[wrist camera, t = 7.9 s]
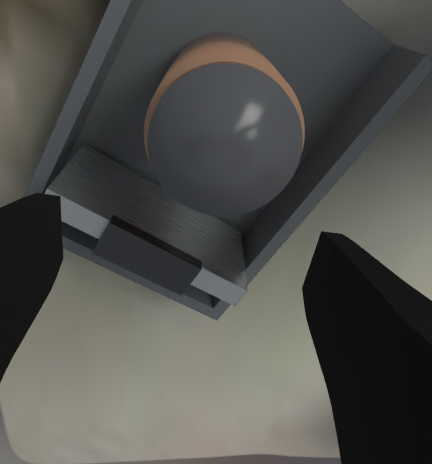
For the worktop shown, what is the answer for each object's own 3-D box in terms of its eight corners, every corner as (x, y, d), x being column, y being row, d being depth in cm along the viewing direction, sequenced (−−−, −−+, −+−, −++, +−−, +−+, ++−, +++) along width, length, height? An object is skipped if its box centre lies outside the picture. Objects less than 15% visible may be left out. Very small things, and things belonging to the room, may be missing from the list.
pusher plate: (243, 227, 22) (252, 295, 17) (227, 248, 22) (231, 319, 17) (86, 138, 19) (43, 189, 14) (73, 165, 20) (28, 222, 15)
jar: (290, 48, 17) (335, 81, 11) (258, 157, 20) (280, 233, 14) (175, 19, 17) (153, 36, 10) (157, 135, 19) (131, 205, 13)
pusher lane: (399, 51, 18) (437, 64, 15) (216, 279, 24) (216, 320, 21) (185, -125, 15) (178, -154, 12) (40, 190, 21) (11, 223, 18)
